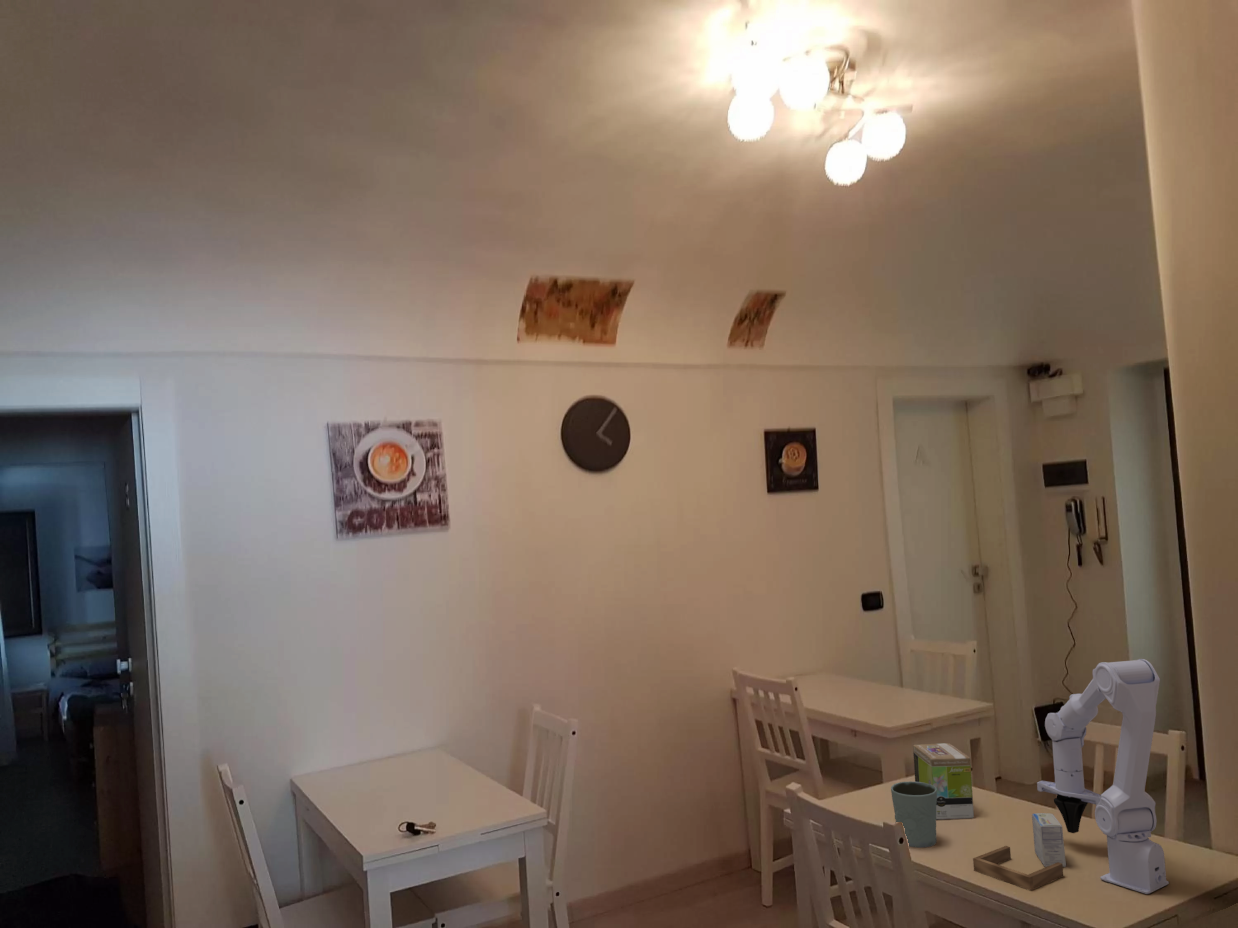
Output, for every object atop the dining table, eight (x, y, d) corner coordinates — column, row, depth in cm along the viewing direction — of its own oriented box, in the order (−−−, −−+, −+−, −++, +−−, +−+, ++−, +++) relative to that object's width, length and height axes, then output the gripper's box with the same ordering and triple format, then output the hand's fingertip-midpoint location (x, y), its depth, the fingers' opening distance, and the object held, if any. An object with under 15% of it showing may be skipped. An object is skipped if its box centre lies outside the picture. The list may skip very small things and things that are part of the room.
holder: (1063, 875, 187) (1062, 863, 187) (1030, 890, 181) (1029, 877, 181) (1006, 857, 198) (1005, 845, 198) (973, 870, 192) (973, 858, 192)
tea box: (975, 818, 223) (971, 756, 224) (934, 820, 223) (929, 758, 224) (954, 799, 238) (950, 741, 239) (915, 801, 238) (911, 743, 239)
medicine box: (1066, 867, 191) (1063, 825, 192) (1043, 867, 192) (1040, 824, 192) (1056, 853, 199) (1053, 812, 199) (1034, 853, 200) (1031, 812, 200)
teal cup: (924, 830, 216) (920, 778, 217) (950, 845, 207) (946, 790, 207) (885, 836, 214) (882, 784, 214) (910, 851, 204) (906, 796, 205)
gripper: (1111, 771, 197) (1116, 836, 197) (1048, 757, 209) (1053, 818, 209) (1092, 778, 193) (1097, 844, 193) (1029, 763, 206) (1034, 825, 205)
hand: (1073, 831), depth 201 cm, fingers closed
